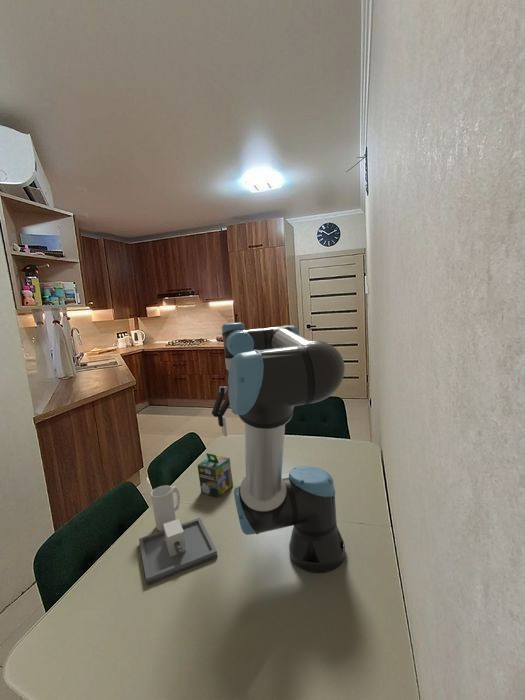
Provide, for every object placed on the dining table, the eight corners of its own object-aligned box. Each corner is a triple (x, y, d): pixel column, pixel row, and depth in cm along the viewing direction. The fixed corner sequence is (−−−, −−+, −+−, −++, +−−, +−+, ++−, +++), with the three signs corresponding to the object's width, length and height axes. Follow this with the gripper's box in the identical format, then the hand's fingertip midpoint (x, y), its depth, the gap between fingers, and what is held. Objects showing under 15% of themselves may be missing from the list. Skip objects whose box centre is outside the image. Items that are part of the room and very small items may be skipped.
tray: (217, 556, 97) (216, 550, 97) (147, 585, 89) (146, 578, 89) (200, 522, 113) (199, 517, 113) (139, 544, 105) (138, 538, 105)
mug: (164, 534, 109) (159, 498, 107) (151, 527, 113) (146, 493, 111) (188, 517, 117) (184, 483, 115) (175, 511, 121) (171, 479, 119)
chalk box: (233, 486, 134) (229, 449, 132) (218, 498, 127) (214, 460, 125) (215, 481, 139) (211, 446, 137) (200, 492, 132) (195, 455, 130)
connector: (190, 561, 95) (187, 541, 94) (173, 568, 93) (170, 547, 92) (179, 531, 108) (176, 513, 107) (164, 536, 106) (161, 518, 106)
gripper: (266, 362, 124) (271, 419, 127) (197, 373, 113) (205, 435, 116) (275, 364, 117) (280, 425, 120) (204, 377, 107) (211, 442, 110)
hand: (243, 430), depth 118 cm, fingers open, 13 cm apart
